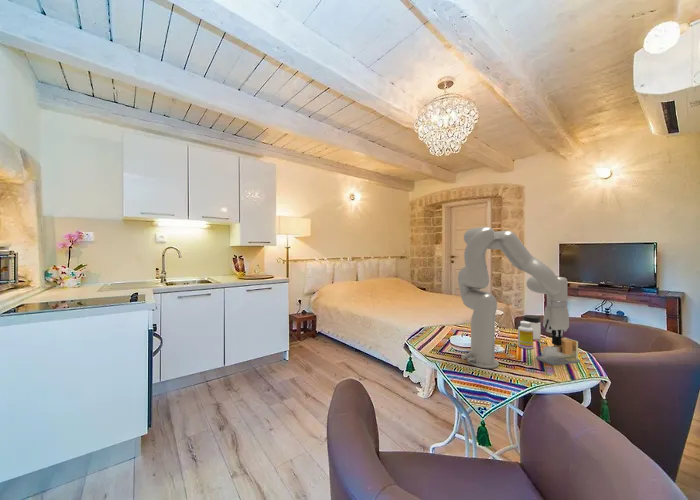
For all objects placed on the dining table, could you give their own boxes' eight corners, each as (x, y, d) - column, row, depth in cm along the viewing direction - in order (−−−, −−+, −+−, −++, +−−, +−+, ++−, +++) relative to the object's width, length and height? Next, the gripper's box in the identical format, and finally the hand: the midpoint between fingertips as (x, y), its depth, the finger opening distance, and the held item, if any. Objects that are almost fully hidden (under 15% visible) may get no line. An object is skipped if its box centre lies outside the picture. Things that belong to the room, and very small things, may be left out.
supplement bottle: (535, 349, 142) (535, 324, 142) (520, 348, 143) (521, 323, 143) (529, 345, 148) (530, 320, 148) (516, 344, 150) (516, 320, 150)
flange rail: (551, 365, 122) (552, 345, 122) (535, 358, 130) (535, 339, 130) (580, 362, 126) (580, 342, 126) (562, 355, 134) (562, 336, 134)
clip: (565, 354, 126) (565, 342, 126) (553, 350, 131) (553, 338, 131) (572, 353, 127) (572, 341, 127) (560, 349, 132) (560, 338, 132)
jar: (522, 334, 168) (522, 314, 168) (539, 336, 164) (539, 315, 164) (523, 338, 160) (524, 317, 160) (541, 340, 156) (541, 319, 156)
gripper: (561, 301, 133) (561, 340, 134) (536, 303, 130) (536, 343, 130) (578, 305, 126) (577, 346, 126) (551, 306, 122) (551, 349, 123)
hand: (556, 344), depth 128 cm, fingers closed
